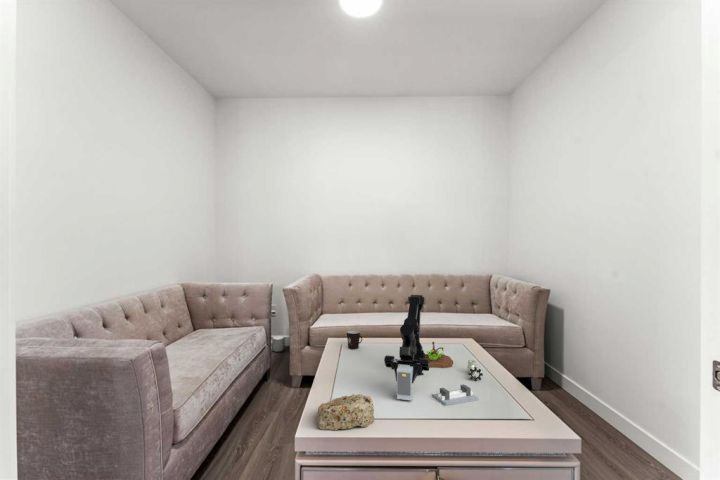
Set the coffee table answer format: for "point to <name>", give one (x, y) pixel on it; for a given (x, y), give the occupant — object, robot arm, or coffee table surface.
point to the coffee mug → (353, 339)
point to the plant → (438, 359)
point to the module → (404, 382)
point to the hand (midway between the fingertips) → (404, 382)
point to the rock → (346, 412)
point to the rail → (455, 396)
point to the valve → (473, 370)
